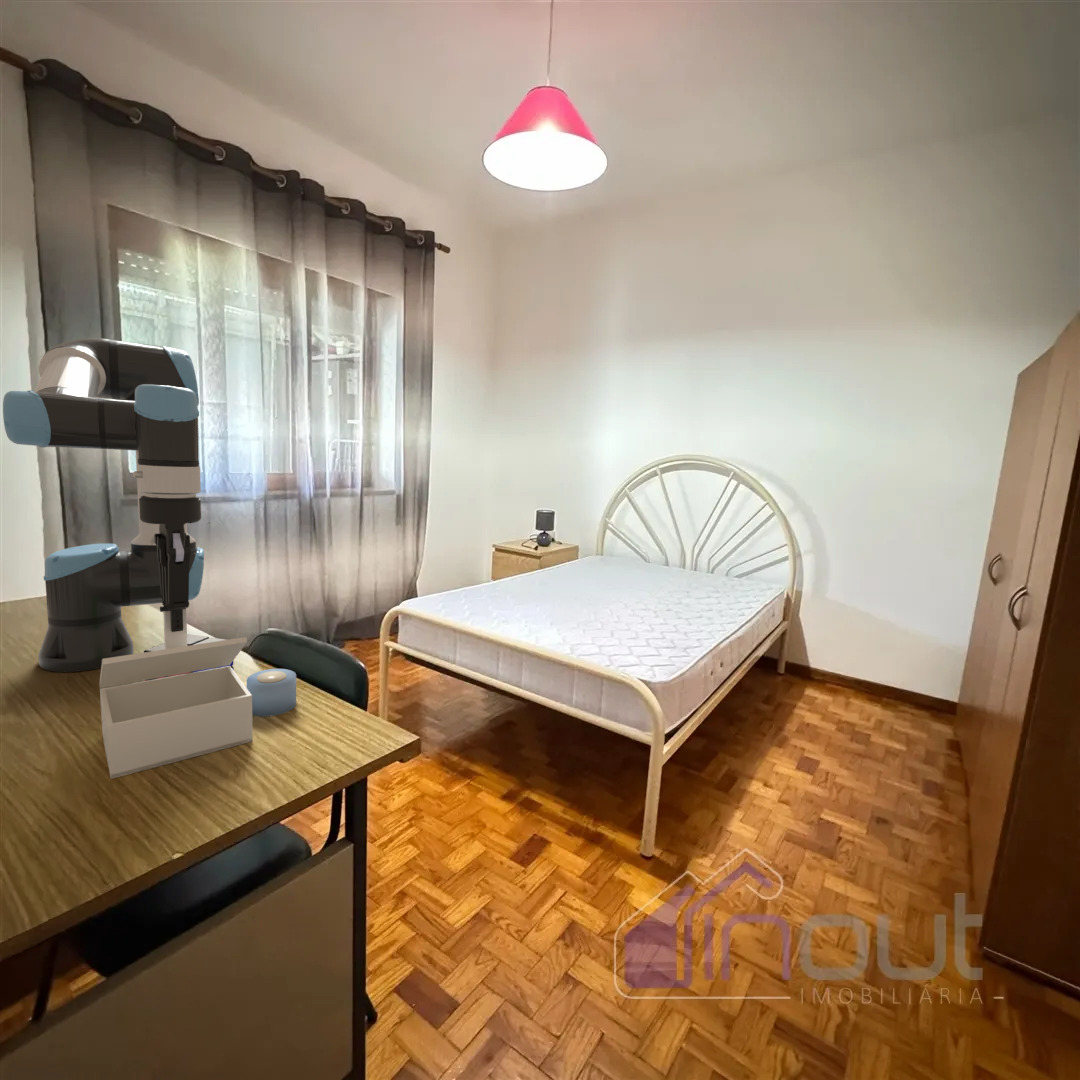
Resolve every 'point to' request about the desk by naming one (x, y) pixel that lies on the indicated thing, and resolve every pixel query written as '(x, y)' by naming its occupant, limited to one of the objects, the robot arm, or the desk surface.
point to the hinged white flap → (168, 661)
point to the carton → (174, 719)
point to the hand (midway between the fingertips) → (176, 649)
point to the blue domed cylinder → (272, 691)
